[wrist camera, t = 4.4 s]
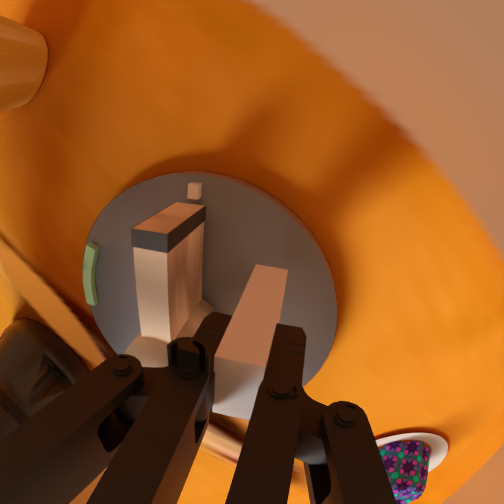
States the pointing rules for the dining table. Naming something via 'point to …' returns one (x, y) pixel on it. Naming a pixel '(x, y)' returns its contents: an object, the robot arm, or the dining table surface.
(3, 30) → the plant pot
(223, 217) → the flat grey disc
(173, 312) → the tuning peg
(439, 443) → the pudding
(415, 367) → the dining table surface
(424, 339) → the dining table surface
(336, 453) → the robot arm
